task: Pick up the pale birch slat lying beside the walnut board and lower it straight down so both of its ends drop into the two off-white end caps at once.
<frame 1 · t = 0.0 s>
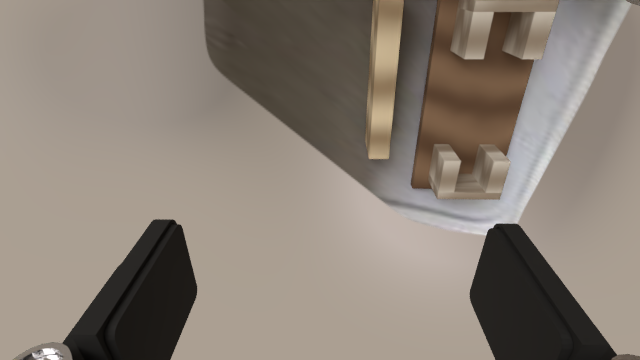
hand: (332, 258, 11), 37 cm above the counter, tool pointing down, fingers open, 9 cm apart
slat: (378, 73, 44), on the counter
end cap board: (470, 97, 45), on the counter
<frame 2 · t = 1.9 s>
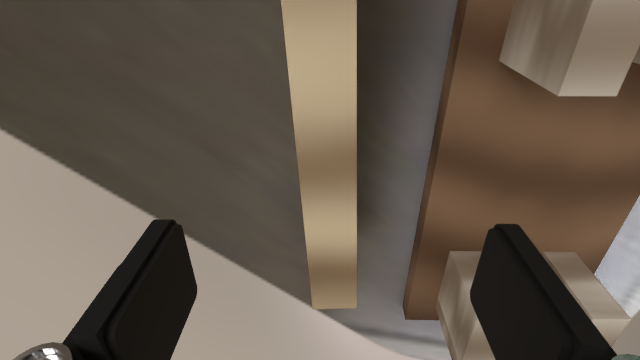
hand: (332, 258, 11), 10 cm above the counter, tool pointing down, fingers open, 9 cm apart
slat: (327, 110, 19), on the counter
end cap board: (532, 161, 21), on the counter
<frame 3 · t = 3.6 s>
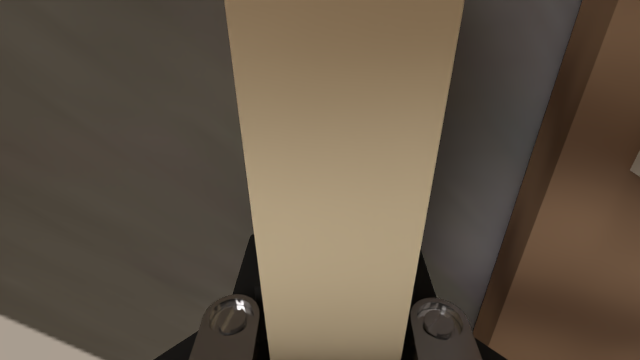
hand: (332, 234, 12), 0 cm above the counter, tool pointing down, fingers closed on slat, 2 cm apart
slat: (332, 224, 12), on the counter, touching gripper
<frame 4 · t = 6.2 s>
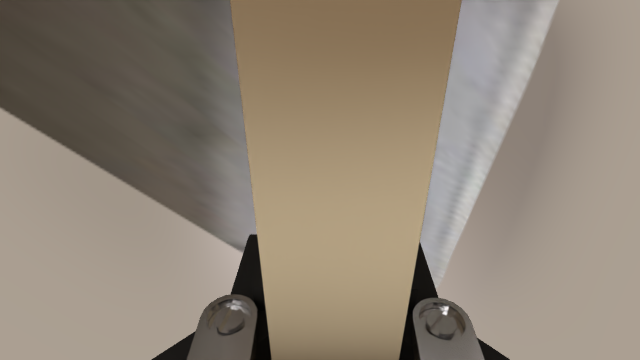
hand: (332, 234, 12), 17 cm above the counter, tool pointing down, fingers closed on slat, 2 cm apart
slat: (332, 225, 13), point 17 cm above the counter, touching gripper
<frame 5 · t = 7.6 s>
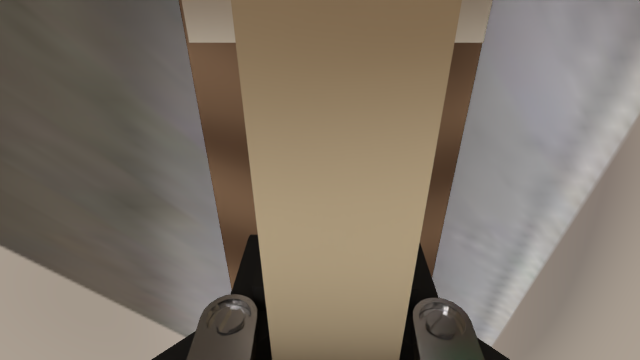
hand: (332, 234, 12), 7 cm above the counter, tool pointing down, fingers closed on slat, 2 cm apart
slat: (332, 225, 13), point 6 cm above the counter, touching gripper
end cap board: (331, 146, 18), on the counter
when the fingers open (3 cm above the counter, at t = 8.7 s): slat stays where it is, resting on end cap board.
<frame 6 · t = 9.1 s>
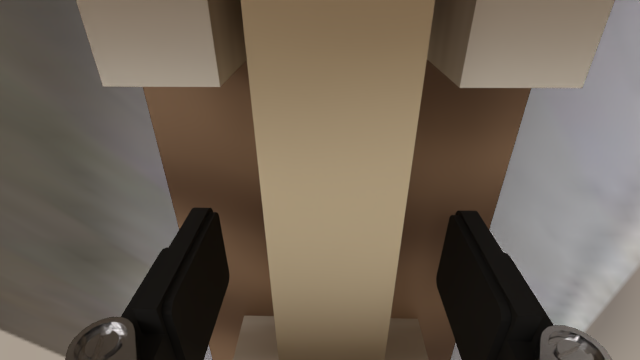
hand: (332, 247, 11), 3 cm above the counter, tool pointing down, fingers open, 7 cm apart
slat: (330, 210, 13), point 1 cm above the counter, touching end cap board
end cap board: (332, 192, 14), on the counter
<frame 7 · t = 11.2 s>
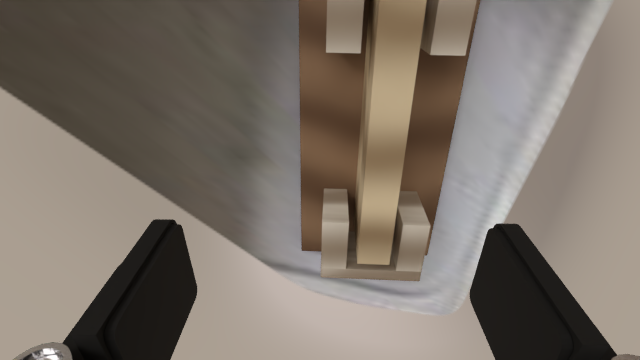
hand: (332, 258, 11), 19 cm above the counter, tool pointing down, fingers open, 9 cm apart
slat: (375, 123, 28), point 1 cm above the counter, touching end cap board
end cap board: (375, 118, 29), on the counter
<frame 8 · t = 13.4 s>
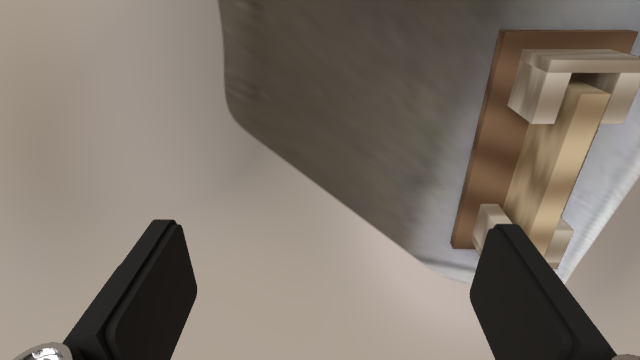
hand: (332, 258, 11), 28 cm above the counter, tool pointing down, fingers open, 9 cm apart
slat: (529, 158, 39), point 1 cm above the counter, touching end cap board
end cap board: (524, 154, 40), on the counter
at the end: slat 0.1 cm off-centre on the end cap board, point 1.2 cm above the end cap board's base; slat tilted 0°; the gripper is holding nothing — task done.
